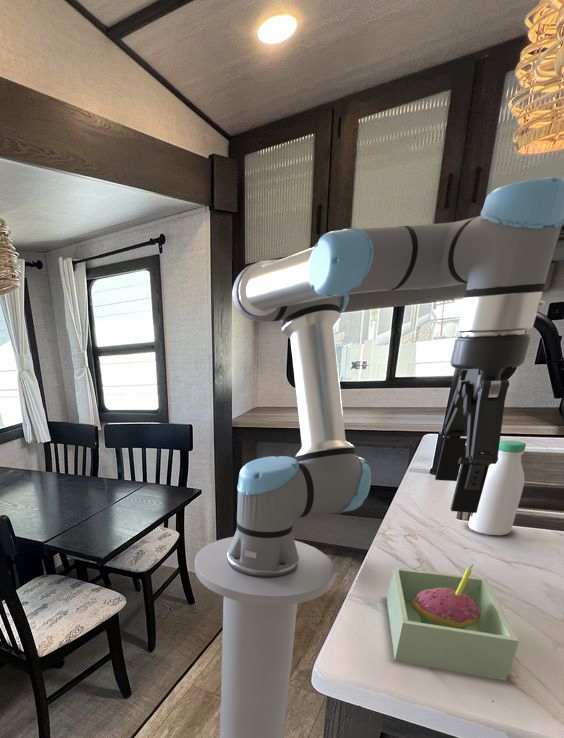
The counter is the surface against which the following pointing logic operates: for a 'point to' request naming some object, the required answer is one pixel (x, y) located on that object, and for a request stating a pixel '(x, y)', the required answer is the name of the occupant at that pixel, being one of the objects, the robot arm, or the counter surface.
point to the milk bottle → (500, 491)
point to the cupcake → (447, 606)
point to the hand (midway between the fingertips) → (453, 494)
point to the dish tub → (445, 644)
